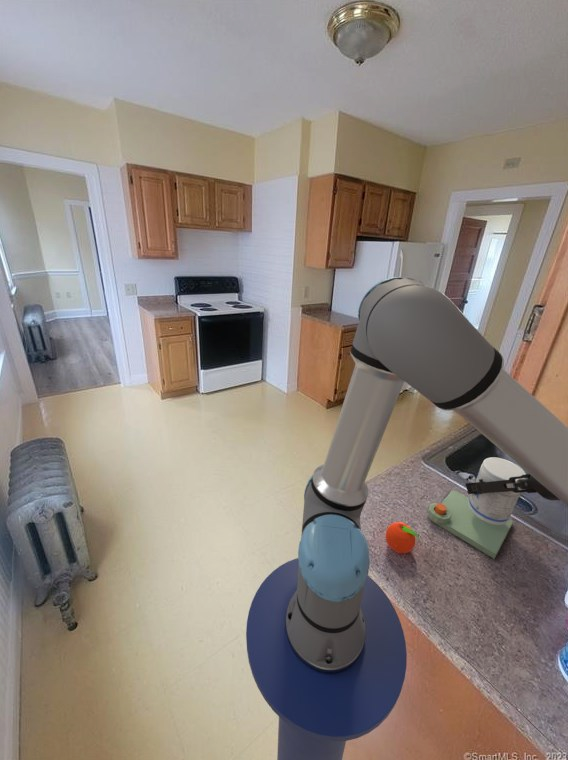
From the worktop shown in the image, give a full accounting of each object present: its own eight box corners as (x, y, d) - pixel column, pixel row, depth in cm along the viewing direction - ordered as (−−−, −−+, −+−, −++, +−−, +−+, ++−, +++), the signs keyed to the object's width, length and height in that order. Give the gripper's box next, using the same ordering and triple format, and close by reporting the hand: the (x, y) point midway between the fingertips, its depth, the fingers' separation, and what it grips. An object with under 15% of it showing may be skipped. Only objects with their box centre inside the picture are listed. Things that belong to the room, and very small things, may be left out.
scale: (423, 519, 89) (425, 509, 87) (447, 491, 99) (449, 482, 97) (492, 562, 77) (497, 552, 76) (511, 525, 87) (515, 515, 86)
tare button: (433, 511, 87) (434, 506, 87) (437, 506, 89) (438, 501, 88) (442, 517, 86) (444, 512, 85) (446, 511, 87) (448, 507, 87)
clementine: (419, 545, 81) (424, 524, 78) (414, 567, 76) (420, 545, 73) (387, 531, 85) (391, 511, 82) (380, 551, 79) (385, 530, 76)
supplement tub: (463, 496, 91) (477, 453, 85) (500, 502, 89) (517, 459, 83) (473, 522, 82) (489, 477, 76) (514, 530, 80) (534, 484, 75)
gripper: (521, 505, 63) (451, 506, 83) (615, 494, 66) (525, 497, 87) (508, 466, 65) (443, 476, 86) (599, 457, 69) (516, 469, 89)
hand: (485, 486), depth 86 cm, fingers closed on supplement tub, 9 cm apart
